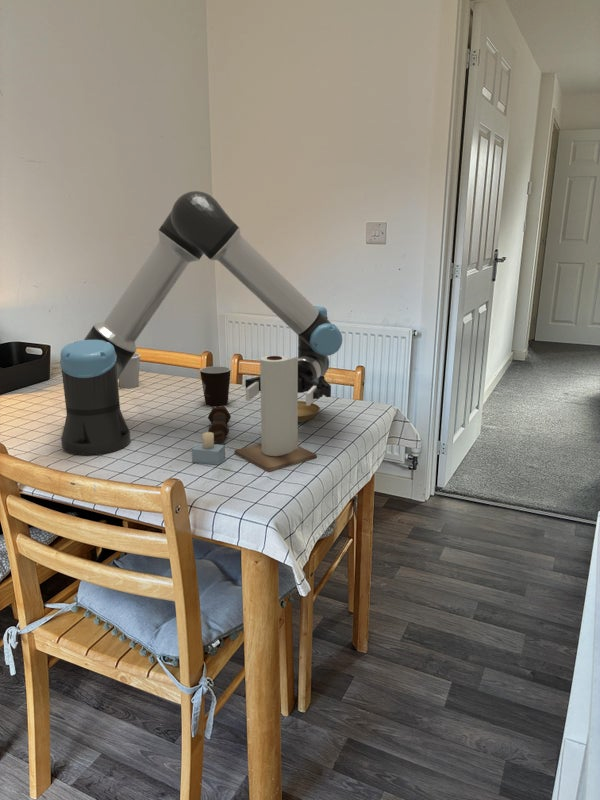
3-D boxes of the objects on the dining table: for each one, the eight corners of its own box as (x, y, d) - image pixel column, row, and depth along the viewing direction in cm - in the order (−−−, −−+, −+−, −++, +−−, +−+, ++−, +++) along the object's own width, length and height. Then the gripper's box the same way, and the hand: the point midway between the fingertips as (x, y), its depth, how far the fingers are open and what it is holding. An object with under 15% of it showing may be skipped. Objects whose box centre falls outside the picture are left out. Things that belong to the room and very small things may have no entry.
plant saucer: (256, 413, 160) (256, 404, 160) (303, 406, 167) (303, 397, 166) (279, 429, 148) (279, 419, 147) (329, 421, 154) (330, 411, 154)
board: (268, 472, 121) (268, 468, 121) (234, 453, 131) (234, 450, 131) (316, 457, 129) (316, 454, 128) (281, 441, 138) (281, 438, 138)
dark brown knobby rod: (215, 452, 137) (217, 429, 151) (234, 442, 136) (234, 420, 151) (202, 433, 135) (205, 411, 149) (220, 422, 135) (222, 401, 149)
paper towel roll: (257, 455, 128) (255, 359, 122) (267, 446, 133) (266, 353, 127) (288, 459, 126) (288, 361, 120) (297, 449, 131) (297, 355, 125)
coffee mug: (229, 407, 164) (228, 373, 162) (199, 407, 165) (197, 373, 162) (234, 396, 176) (233, 364, 173) (206, 396, 176) (204, 363, 173)
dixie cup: (110, 386, 186) (107, 355, 184) (131, 381, 193) (129, 351, 190) (127, 390, 182) (124, 359, 179) (148, 385, 188) (146, 354, 185)
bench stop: (200, 455, 130) (198, 429, 128) (225, 458, 128) (224, 432, 127) (192, 462, 126) (191, 435, 124) (218, 464, 124) (217, 438, 123)
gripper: (351, 392, 144) (333, 418, 124) (255, 385, 150) (223, 409, 130) (352, 362, 142) (334, 384, 122) (255, 357, 148) (222, 376, 128)
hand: (277, 397), depth 126 cm, fingers open, 13 cm apart
